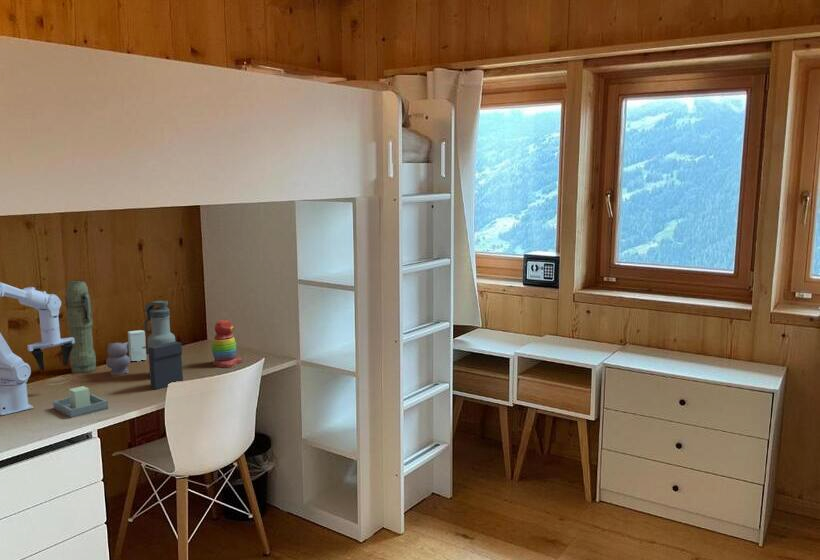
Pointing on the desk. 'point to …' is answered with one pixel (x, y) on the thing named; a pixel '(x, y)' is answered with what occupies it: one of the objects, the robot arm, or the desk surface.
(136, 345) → the skincare box
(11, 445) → the desk surface
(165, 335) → the water bottle
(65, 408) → the bin
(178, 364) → the dark gray box
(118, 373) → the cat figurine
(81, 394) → the block
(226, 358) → the stacking bear
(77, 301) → the thermos
